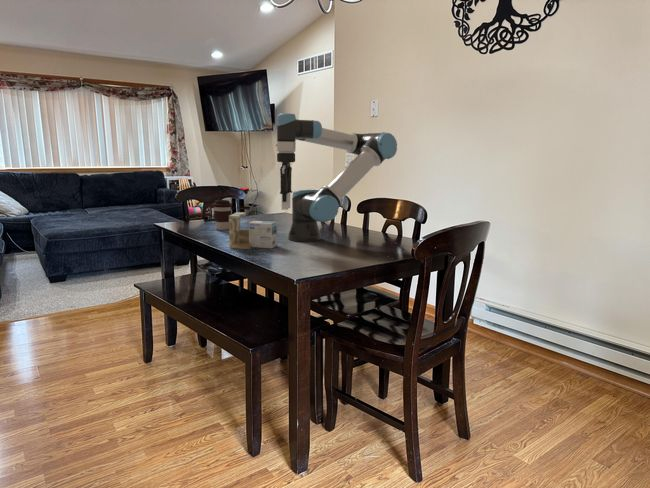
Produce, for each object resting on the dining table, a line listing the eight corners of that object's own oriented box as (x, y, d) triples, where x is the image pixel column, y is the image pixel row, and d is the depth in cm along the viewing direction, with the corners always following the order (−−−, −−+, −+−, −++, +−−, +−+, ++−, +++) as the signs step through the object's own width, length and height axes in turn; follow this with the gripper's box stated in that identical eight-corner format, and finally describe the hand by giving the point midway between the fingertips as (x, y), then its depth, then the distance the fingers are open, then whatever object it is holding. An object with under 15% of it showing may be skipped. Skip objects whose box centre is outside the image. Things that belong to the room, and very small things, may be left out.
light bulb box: (277, 245, 198) (277, 221, 196) (272, 248, 192) (272, 223, 190) (254, 244, 200) (253, 220, 198) (248, 247, 194) (248, 222, 192)
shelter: (237, 242, 203) (237, 212, 201) (257, 243, 202) (257, 212, 200) (229, 247, 192) (228, 215, 189) (250, 248, 191) (250, 216, 188)
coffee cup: (209, 228, 238) (208, 200, 235) (226, 226, 245) (225, 199, 242) (219, 231, 231) (218, 201, 228) (236, 229, 237) (235, 200, 234)
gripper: (281, 152, 196) (281, 206, 201) (272, 152, 179) (272, 211, 184) (298, 152, 195) (298, 206, 200) (291, 152, 178) (291, 211, 183)
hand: (286, 208), depth 192 cm, fingers open, 4 cm apart
